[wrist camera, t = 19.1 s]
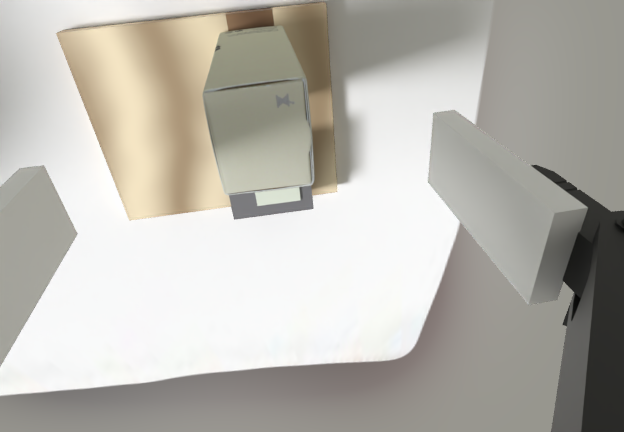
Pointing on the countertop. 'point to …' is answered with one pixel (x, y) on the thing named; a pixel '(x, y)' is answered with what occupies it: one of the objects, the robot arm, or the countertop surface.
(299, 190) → the gray block
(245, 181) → the box
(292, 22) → the board
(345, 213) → the countertop surface
